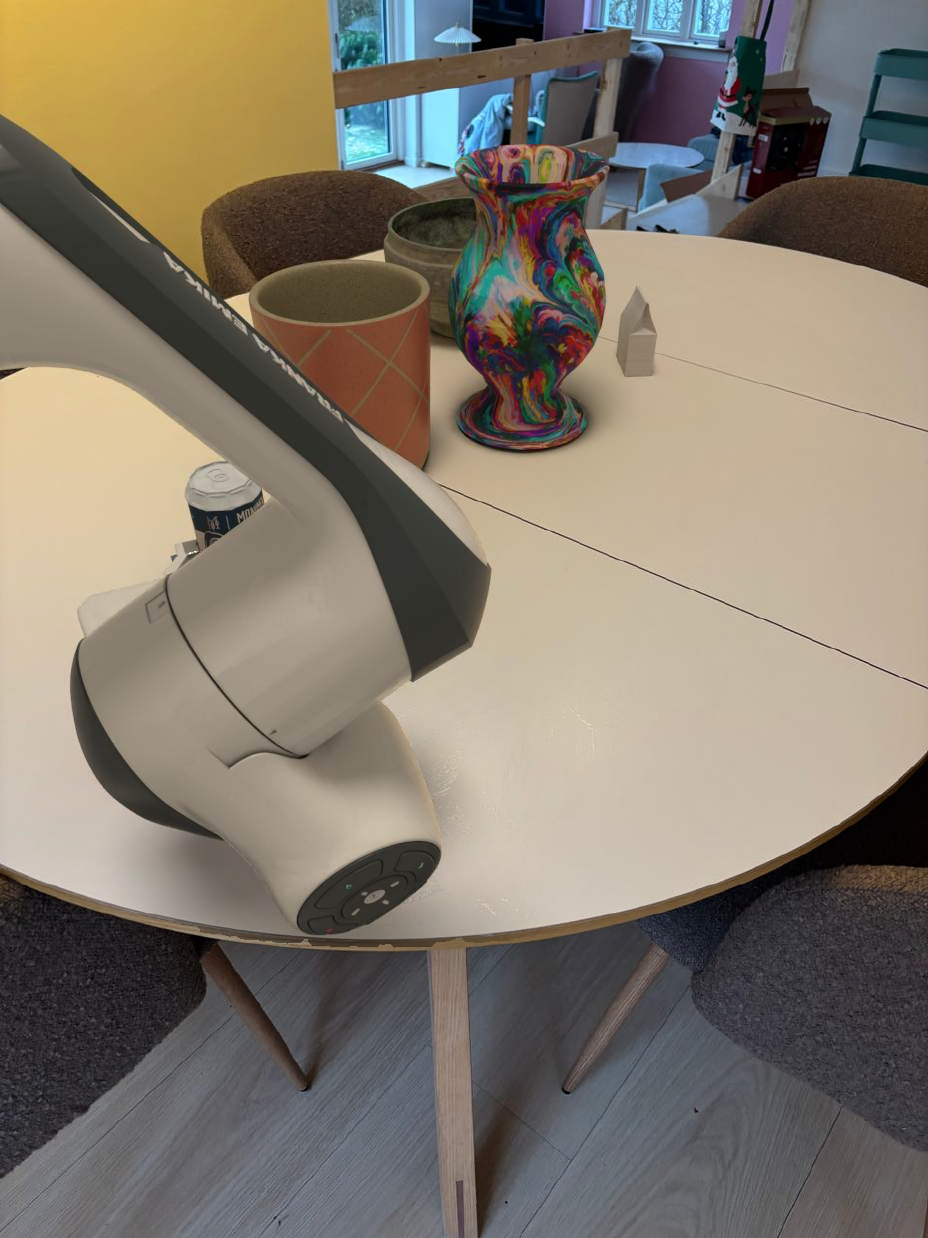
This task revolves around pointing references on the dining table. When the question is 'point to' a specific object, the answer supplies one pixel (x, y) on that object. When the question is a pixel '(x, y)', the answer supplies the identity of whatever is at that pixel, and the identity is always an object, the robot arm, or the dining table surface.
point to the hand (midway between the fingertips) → (231, 539)
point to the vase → (527, 291)
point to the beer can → (220, 500)
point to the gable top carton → (636, 337)
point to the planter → (357, 342)
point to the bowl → (432, 247)
